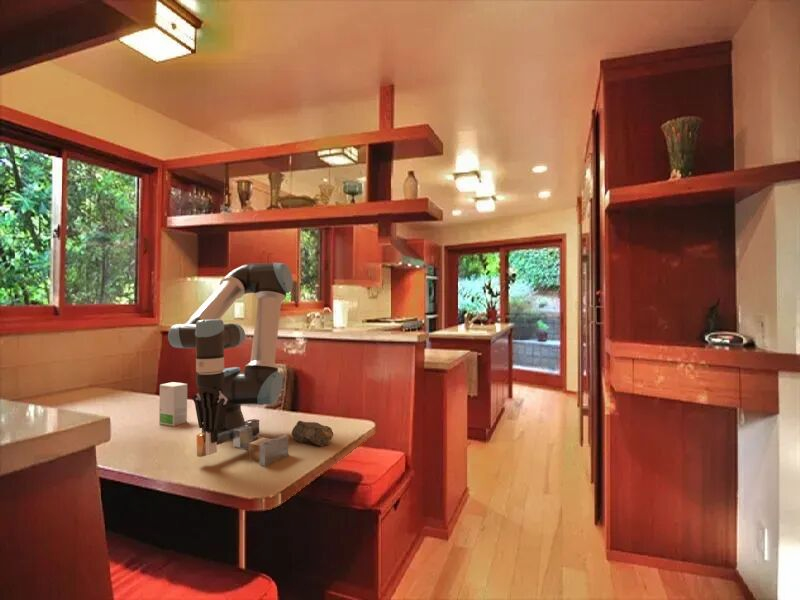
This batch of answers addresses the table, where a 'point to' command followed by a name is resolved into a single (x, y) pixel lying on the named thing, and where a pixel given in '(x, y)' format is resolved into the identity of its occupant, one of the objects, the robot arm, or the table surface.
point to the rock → (312, 433)
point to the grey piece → (271, 449)
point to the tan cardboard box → (256, 449)
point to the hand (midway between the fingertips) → (211, 453)
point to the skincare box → (173, 403)
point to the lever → (231, 436)
